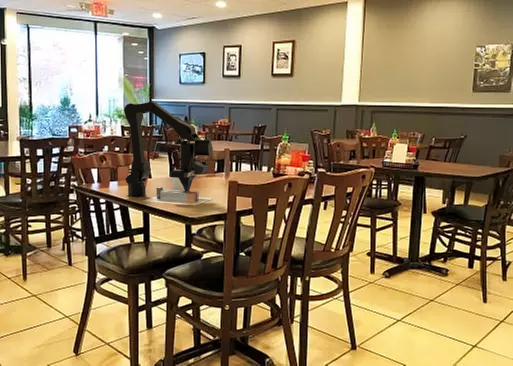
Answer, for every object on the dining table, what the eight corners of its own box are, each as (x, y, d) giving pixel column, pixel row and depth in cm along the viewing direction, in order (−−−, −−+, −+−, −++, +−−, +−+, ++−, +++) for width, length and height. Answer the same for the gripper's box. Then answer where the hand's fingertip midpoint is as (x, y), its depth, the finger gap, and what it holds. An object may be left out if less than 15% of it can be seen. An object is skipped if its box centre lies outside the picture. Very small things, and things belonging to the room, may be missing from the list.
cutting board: (141, 202, 209) (141, 200, 209) (163, 195, 226) (163, 194, 226) (195, 206, 201) (195, 205, 201) (213, 199, 218) (213, 198, 218)
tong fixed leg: (160, 200, 211) (160, 191, 211) (162, 199, 213) (162, 190, 213) (193, 202, 207) (193, 193, 206) (195, 201, 209) (195, 193, 208)
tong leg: (155, 198, 214) (155, 188, 214) (158, 197, 217) (158, 187, 216) (196, 201, 209) (196, 190, 209) (198, 200, 212) (198, 189, 211)
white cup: (175, 191, 237) (175, 176, 236) (169, 190, 243) (168, 175, 242) (189, 190, 241) (188, 175, 240) (182, 188, 247) (182, 174, 246)
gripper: (194, 157, 203) (194, 197, 205) (214, 154, 221) (214, 190, 223) (169, 156, 207) (169, 195, 209) (190, 153, 224) (190, 189, 226)
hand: (187, 192), depth 217 cm, fingers closed
